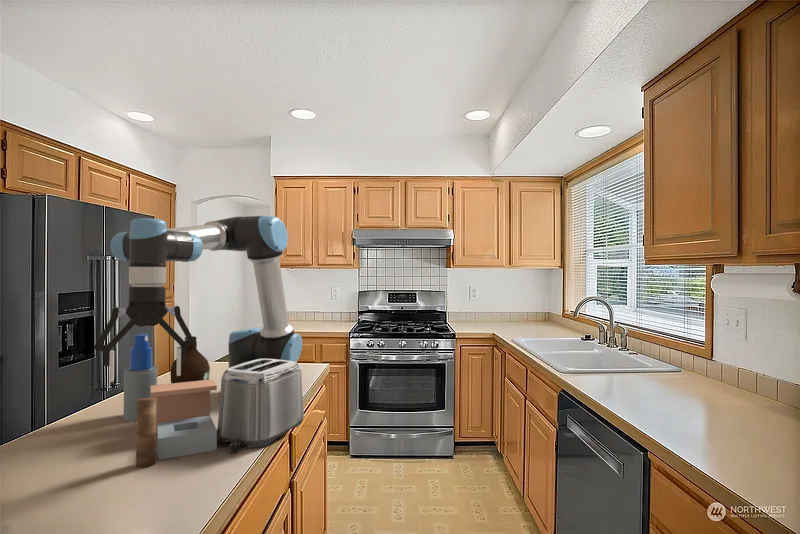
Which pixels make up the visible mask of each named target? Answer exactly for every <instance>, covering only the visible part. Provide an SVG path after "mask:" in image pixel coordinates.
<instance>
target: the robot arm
mask: <svg viewBox="0 0 800 534" xmlns="http://www.w3.org/2000/svg"><path fill="white" fill-rule="evenodd" d="M288 241H289V235H288V230H287V228H286V225H285V223H284V222H283V221H282V220H281V219H280V218H279V217H277V216H273V215H272V216H271V215H253V216H252V215H249V216H233V217H228V218H227V217H226V218H223V219H222V218H221V219H217V220H211V221H207V222H205V223H203V225H202V224H201V225H193V226H184V227H172V228H168V227H167V221H165V220H163V219H158V218H148V217H147V218H145V217H143V218H140V217H139V218H134V219H132V220H131V222H130V228H129V231H125V232H119V233H116V234H115V235H113V237H112V238H111V240H110V246H109V247H110V252H111V254H112V255H113V257H114V258H115V259H117V260H118V261H123V262H129V266H128V284H129V285H131V286H130V287H129V288H128V305H127V307H126V308H125V307H124V308H123V307H118V306H114V307H113V308H112V311H111V317H110V319H109V321H108V322H107V324H106V326H105V327H104V329H103V331H102V333H101V334H100V336H99V338H98V339H97V341H96V343H95V344H94V347H93V349H94V350H95V351H100V352H103V366H104V367H109V368H108V369H109V373H108V376H109V377H108V382H109V383H113V382H114V379H115V350H112V349H113V348H114V347H115V346H116V345H117V344H118V342H120V341H121V340H122V339H123V337H125V335H126V334H128V332H129V331H130V330H131V329H132V328H133V327H134V326H135V325H136V326H137V327H146V326H149V327H155V326H157V325H159V326H161V327H162V328H163V330H165V331H166V333H167V334H169V336H171V338H172V339H173V340H174V341H175V342H176V343H177V344H178V346H176V359H177V373H176V374H177V376H181V361H185V360H186V348H187V346H189V345H191V344H194V343H195V341H194V339H193V337H192V336H193V335H192V333H191V332H190V330H189V328H188V326H187V324H186V322H185V320H184V318H183V317H182V315H181V308H180V307H181V306H180V305H174V306H169V307H167V305H166V287H165V286H164V285H165V284H167V283H166V282H167V262H183V263H188V262H195V261H196V260H198V259H199V258H200V257H201V255H202V254H203V250H209V251H212V252H213V251H214V252H215V251H232V252H246V257H247V260H248V261H250V262H251V263H252V264H253V270H254V276H255V284H256V289H257V294H258V300H259V306H260V314H261V319H262V325H263V327H253V328H245V329H240V330H235V331H232V332H231V333H230V334H229V336H228V343H227V345H228V368H230V367H233V366H236V365H239V364H242V363H245V362H249V361H253V360H256V359H278V360H288V361H294V362H297V363H298V360H299V359H300V356H301V354H302V348H303V338H302V336H301V335H300V334H299V333H295V329H294V326H293V325H292V324H291V323H289V318H288V309H287V305H286V298H285V289H284V284H283V277H282V270H281V269H282V268H281V262H280V259H281V258H282V256H283V255H284V253H283V251H285V250H286V248H287V247H288ZM168 313H170V315H171V316H173V317H175V319H176V322H177V324H179V327H180V328H181V330H182V332H183V335H184V336H185V337H186V338H187V340H185V339H183V338H182V337H181V335H179V334H178V333H177V332H176V331H175V329H173V327H171V326H170V324H169V323H168V322H166V321H165V319H164V317H165V316H166V315H167V314H168ZM124 314H126V315H127V316H128V317H129V319H130V320H129V321H128V322H127V323H126V324H125V325H124V326H123V327H122V328H121V329H120V330H119V332H117V334H115V336H113V337H112V339H111V340H110V341H108V343H107V344H104V342H105V341H106V340H107V338H108V336H109V334H110V332H111V331H112V329H113V327H114V325H115V324H116V322H117V321H118V319H119V318H122V317H123V315H124Z"/></svg>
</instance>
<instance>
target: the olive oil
mask: <svg viewBox="0 0 800 534" xmlns="http://www.w3.org/2000/svg"><path fill="white" fill-rule="evenodd" d="M192 337H193V339H194V341H195V343H194V344H191V345H189V346H187V348H186V360H185V361H181V376H177V374H176V373H177V358H175V360H174V361H173V362H172V365H171V367H170V384H171V383H181V382H191V381H201V380H210V373H211V372H210V371H211V370H210V369H211V368H210V363H209V361H208V359H207V358H206V357H205V356H204V355H203V354H202V353H201V352H200V351H199V350H198V348H197V347H198V346H197V345H198V342H197V336H195V335H192ZM185 340H187V338H186V336H185V337H184V341H185Z"/></svg>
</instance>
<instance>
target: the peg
mask: <svg viewBox="0 0 800 534" xmlns="http://www.w3.org/2000/svg"><path fill="white" fill-rule="evenodd" d="M135 435H136V443H135V444H136V445H135V446H136V449H135V450H136V451H135V454H136V455H135V460H136V461H135V466H136V468H138V469H147V468H150V467H154V466H155V465H156V463H157V435H156V398H155V397H146V398H141V399H138V400H137V421H136V433H135Z"/></svg>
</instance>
